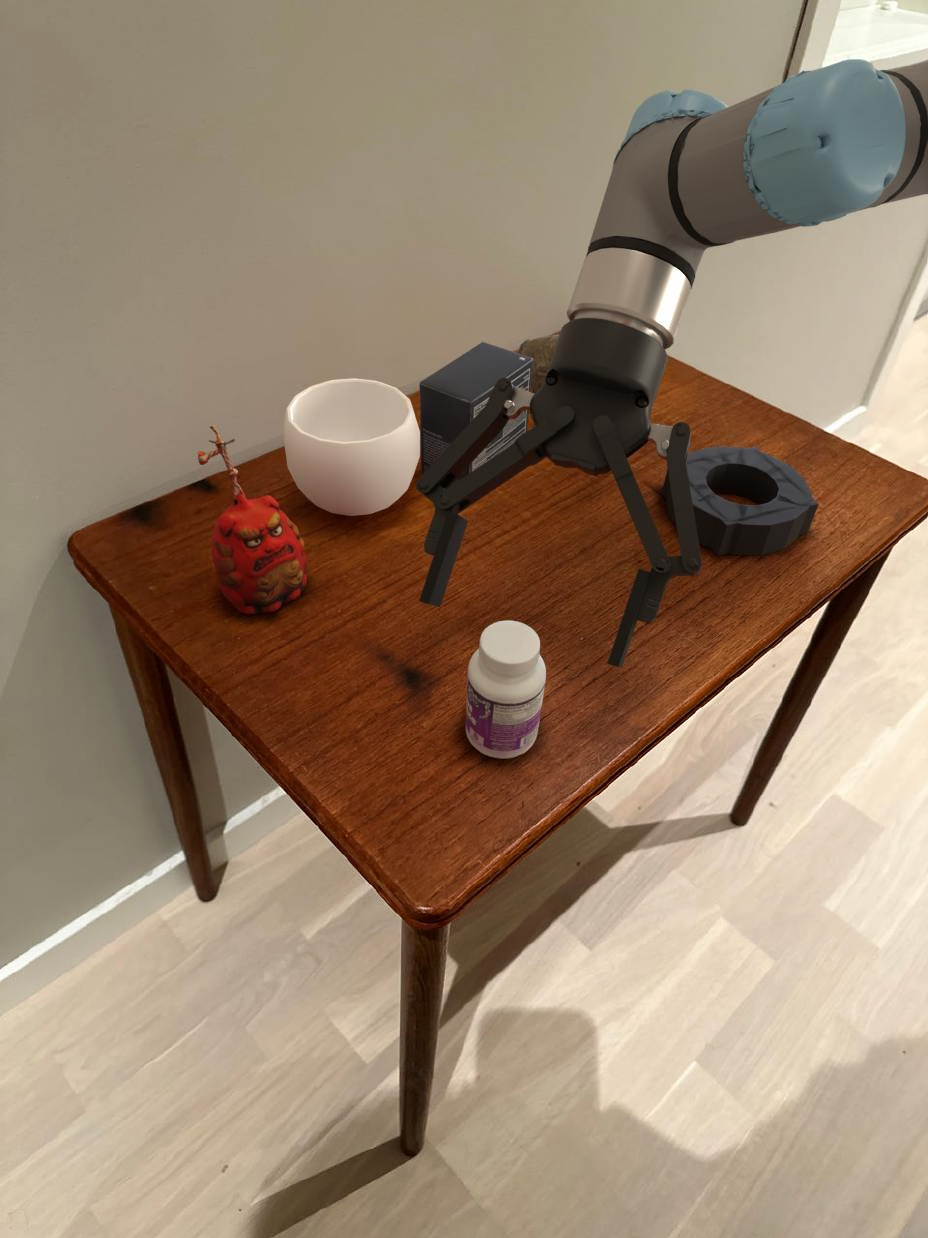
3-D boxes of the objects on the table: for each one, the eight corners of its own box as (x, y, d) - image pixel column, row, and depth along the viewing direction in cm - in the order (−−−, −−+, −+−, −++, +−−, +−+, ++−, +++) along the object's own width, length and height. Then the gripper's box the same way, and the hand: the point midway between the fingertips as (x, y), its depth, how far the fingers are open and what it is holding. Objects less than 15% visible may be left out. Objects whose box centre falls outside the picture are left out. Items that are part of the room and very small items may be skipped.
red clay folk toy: (253, 632, 70) (223, 478, 60) (201, 591, 73) (164, 438, 63) (325, 587, 74) (309, 436, 64) (273, 550, 77) (249, 400, 67)
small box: (477, 429, 93) (482, 337, 86) (528, 451, 90) (537, 357, 83) (416, 474, 87) (415, 378, 79) (469, 498, 84) (473, 402, 77)
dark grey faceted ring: (827, 538, 81) (839, 508, 79) (713, 567, 78) (722, 537, 75) (749, 466, 89) (758, 437, 87) (643, 489, 86) (649, 459, 83)
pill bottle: (456, 711, 65) (460, 618, 58) (524, 698, 66) (535, 606, 59) (475, 768, 61) (481, 676, 54) (547, 754, 62) (561, 662, 55)
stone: (665, 419, 95) (680, 352, 90) (624, 454, 90) (637, 384, 85) (539, 369, 103) (545, 304, 97) (494, 398, 98) (498, 331, 92)
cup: (439, 521, 81) (440, 431, 74) (311, 551, 78) (300, 459, 71) (395, 452, 89) (392, 365, 83) (277, 476, 86) (264, 387, 79)
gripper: (797, 397, 59) (699, 692, 60) (463, 319, 66) (377, 585, 66) (811, 358, 52) (698, 695, 52) (434, 276, 59) (338, 574, 59)
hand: (519, 634), depth 59 cm, fingers open, 13 cm apart
